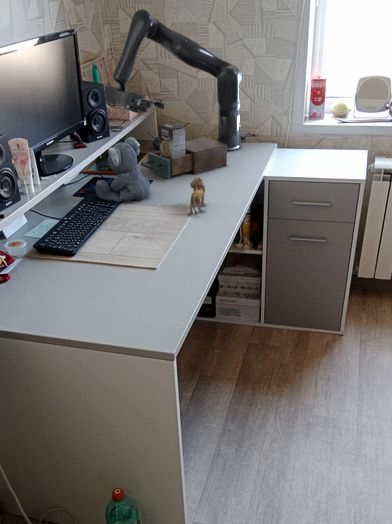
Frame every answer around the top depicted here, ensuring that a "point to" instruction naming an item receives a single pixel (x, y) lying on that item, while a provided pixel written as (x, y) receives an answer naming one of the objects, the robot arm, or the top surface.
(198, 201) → the lion figurine
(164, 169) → the drawer
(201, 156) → the cabinet
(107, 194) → the koala plush
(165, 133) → the coffee box
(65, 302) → the top surface
